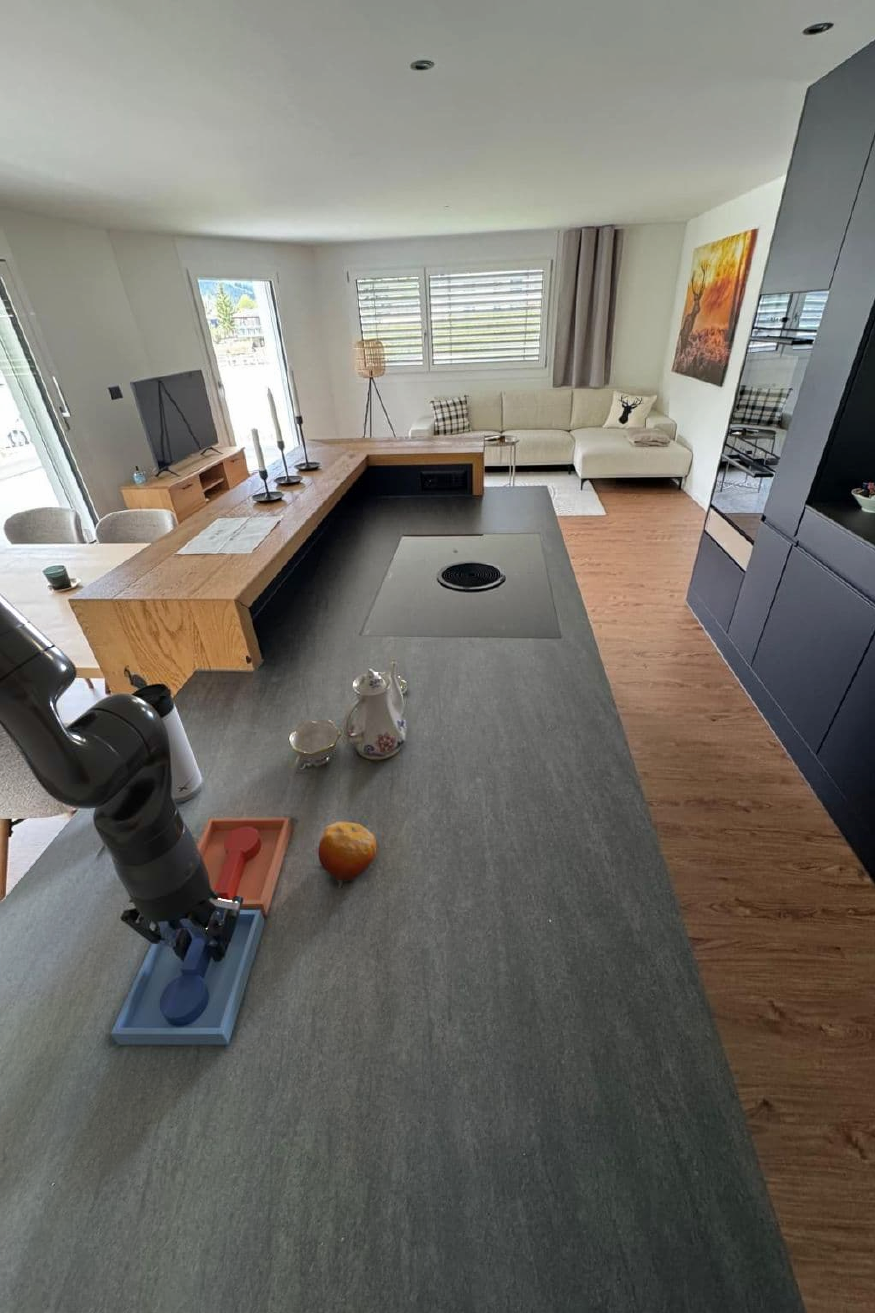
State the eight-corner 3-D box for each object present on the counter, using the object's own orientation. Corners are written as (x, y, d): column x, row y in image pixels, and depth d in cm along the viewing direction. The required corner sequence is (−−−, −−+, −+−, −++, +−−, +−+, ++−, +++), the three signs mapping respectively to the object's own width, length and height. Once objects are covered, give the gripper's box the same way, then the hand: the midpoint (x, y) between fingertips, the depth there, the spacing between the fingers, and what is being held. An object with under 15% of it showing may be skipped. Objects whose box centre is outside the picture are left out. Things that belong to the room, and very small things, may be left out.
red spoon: (243, 906, 73) (238, 892, 72) (207, 907, 73) (201, 894, 72) (264, 834, 83) (260, 821, 81) (232, 836, 83) (227, 822, 81)
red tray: (175, 916, 73) (169, 904, 72) (213, 829, 85) (209, 818, 84) (266, 915, 73) (262, 904, 71) (292, 828, 84) (289, 817, 83)
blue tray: (118, 1044, 60) (109, 1034, 59) (172, 921, 72) (166, 910, 71) (228, 1045, 60) (222, 1034, 59) (265, 921, 72) (260, 909, 71)
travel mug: (197, 803, 90) (159, 705, 79) (157, 803, 90) (113, 706, 79) (211, 775, 95) (177, 679, 84) (173, 775, 95) (134, 680, 84)
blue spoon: (197, 927, 71) (190, 913, 69) (234, 926, 71) (228, 912, 69) (157, 1027, 61) (148, 1013, 60) (200, 1027, 61) (192, 1013, 60)
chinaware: (377, 692, 116) (361, 621, 107) (446, 708, 107) (435, 632, 99) (283, 779, 96) (255, 699, 87) (359, 807, 87) (336, 722, 79)
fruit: (297, 869, 77) (314, 817, 75) (339, 856, 83) (355, 809, 82) (333, 904, 72) (352, 850, 71) (375, 888, 78) (393, 838, 77)
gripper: (238, 835, 62) (270, 925, 71) (114, 837, 62) (161, 925, 71) (214, 896, 55) (252, 986, 65) (76, 898, 56) (134, 986, 65)
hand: (204, 954), depth 68 cm, fingers open, 3 cm apart
